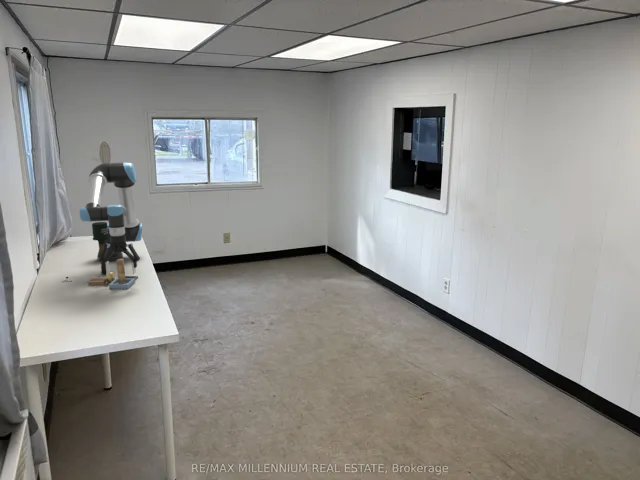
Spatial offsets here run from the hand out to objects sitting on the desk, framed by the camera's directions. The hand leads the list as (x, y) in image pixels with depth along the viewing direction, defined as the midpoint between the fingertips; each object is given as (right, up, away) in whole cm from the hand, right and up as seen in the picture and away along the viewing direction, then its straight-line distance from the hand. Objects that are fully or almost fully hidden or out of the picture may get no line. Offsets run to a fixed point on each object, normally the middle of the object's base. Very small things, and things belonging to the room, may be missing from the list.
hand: (121, 273), depth 253 cm
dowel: (0, -6, +2) cm, 6 cm away
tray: (0, -7, +2) cm, 7 cm away
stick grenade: (-18, -2, +22) cm, 29 cm away
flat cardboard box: (-15, -6, +6) cm, 17 cm away
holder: (0, -4, +11) cm, 12 cm away
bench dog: (-8, -6, +6) cm, 12 cm away
